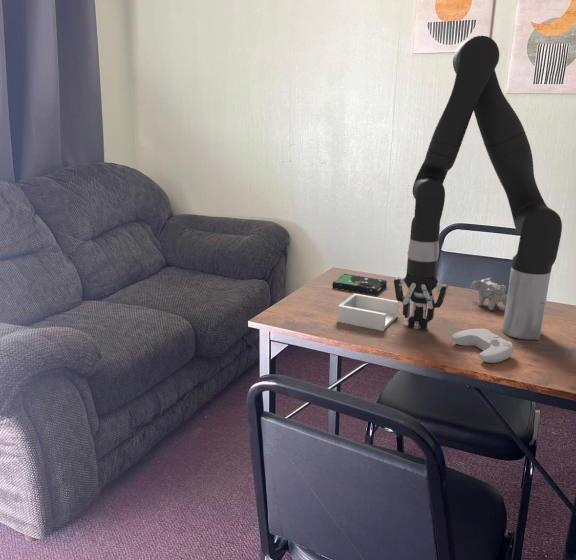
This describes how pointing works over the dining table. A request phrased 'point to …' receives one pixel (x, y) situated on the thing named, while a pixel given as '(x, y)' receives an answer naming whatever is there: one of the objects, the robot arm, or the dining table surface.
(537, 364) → the dining table surface
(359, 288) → the disk drive
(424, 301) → the push button
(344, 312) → the box
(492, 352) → the game controller
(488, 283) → the elephant statuette
